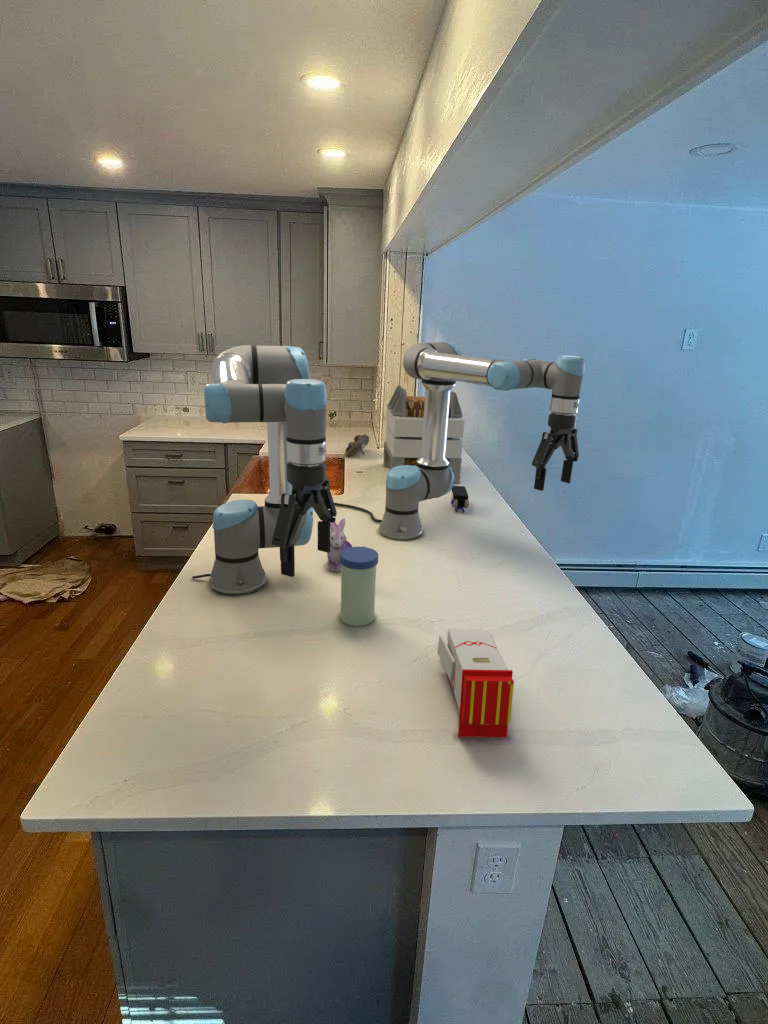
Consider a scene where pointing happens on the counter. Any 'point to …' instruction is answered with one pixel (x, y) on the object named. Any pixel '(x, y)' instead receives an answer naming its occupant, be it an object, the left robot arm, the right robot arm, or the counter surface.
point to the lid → (359, 558)
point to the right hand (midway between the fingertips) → (552, 485)
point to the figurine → (337, 545)
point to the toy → (478, 682)
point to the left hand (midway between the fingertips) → (306, 562)
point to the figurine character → (459, 498)
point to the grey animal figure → (357, 445)
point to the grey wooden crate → (419, 431)
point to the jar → (357, 595)
